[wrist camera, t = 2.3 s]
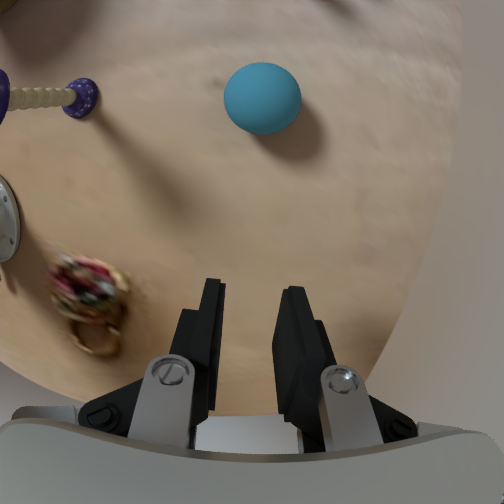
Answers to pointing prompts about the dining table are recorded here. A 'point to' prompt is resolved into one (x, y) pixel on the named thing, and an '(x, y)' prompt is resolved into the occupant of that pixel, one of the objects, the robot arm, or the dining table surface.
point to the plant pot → (6, 4)
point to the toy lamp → (49, 97)
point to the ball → (262, 98)
